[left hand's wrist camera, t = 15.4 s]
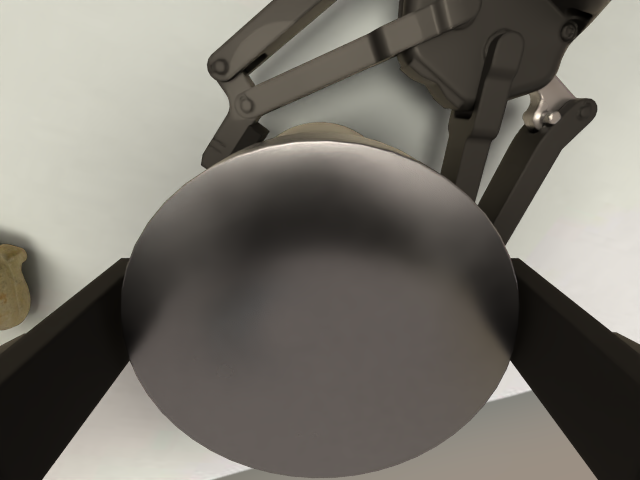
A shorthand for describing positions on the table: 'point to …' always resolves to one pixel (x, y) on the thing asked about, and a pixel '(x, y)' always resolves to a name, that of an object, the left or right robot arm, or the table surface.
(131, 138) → the table surface
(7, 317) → the sculpture
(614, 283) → the table surface
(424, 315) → the lid
